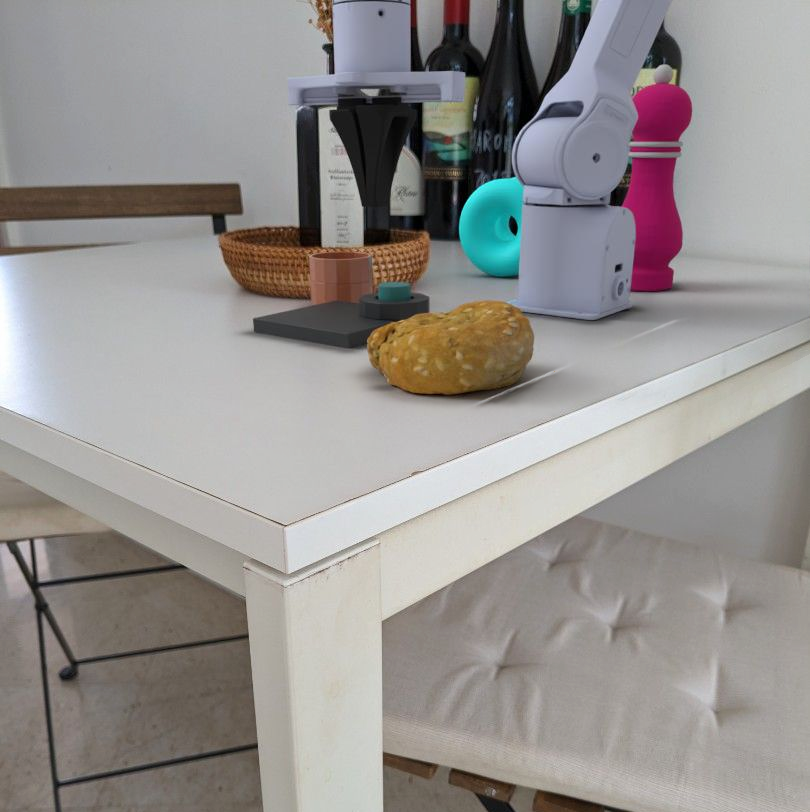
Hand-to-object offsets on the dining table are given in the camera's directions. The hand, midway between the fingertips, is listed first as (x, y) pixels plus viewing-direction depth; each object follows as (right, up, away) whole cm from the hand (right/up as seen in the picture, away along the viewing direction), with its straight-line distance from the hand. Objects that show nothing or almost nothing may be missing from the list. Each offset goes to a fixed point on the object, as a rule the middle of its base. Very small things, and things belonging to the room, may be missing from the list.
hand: (375, 206), depth 68 cm
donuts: (+14, +4, +29) cm, 33 cm away
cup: (-3, -5, +10) cm, 12 cm away
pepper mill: (+27, -1, +20) cm, 33 cm away
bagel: (+5, -16, -13) cm, 22 cm away
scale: (-3, -10, +1) cm, 10 cm away
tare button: (+1, -8, 0) cm, 8 cm away
